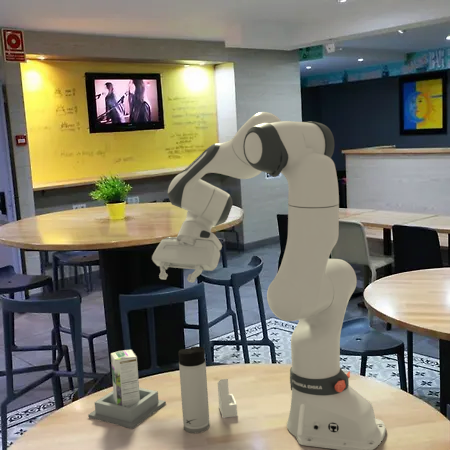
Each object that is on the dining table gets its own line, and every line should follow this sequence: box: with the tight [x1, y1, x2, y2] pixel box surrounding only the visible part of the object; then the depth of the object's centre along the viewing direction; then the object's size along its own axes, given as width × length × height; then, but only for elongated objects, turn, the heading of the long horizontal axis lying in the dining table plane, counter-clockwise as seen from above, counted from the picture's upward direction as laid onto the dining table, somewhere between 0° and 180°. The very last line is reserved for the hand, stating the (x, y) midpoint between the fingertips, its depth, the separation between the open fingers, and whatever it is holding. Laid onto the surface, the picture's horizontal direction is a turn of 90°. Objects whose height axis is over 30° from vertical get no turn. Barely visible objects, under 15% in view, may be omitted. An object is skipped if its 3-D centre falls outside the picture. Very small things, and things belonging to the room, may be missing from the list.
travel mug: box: [178, 346, 211, 434], centre depth 140 cm, size 6×7×20 cm
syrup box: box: [110, 349, 140, 408], centre depth 150 cm, size 6×6×14 cm
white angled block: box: [217, 378, 238, 419], centre depth 147 cm, size 4×10×9 cm, turn 9°
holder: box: [87, 387, 167, 430], centre depth 151 cm, size 14×14×4 cm
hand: (176, 279), depth 164 cm, fingers open, 8 cm apart
